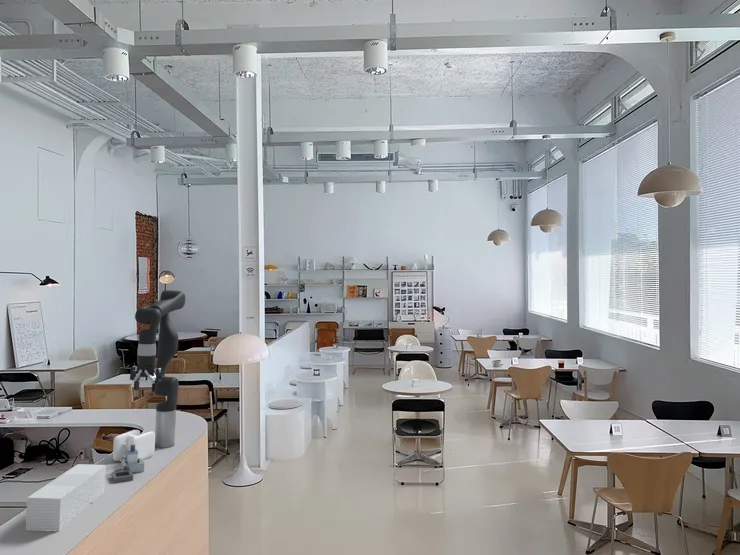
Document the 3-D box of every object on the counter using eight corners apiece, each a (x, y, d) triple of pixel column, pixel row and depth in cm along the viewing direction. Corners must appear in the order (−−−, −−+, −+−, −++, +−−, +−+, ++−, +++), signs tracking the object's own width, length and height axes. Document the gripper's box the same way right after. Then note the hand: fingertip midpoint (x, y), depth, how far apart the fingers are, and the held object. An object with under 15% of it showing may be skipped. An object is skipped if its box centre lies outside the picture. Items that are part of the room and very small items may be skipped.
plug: (126, 469, 233) (127, 444, 233) (135, 468, 235) (137, 443, 235) (127, 472, 230) (128, 446, 230) (137, 470, 232) (138, 445, 232)
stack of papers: (76, 492, 209) (77, 463, 209) (104, 493, 210) (106, 464, 210) (25, 531, 177) (27, 497, 177) (59, 532, 178) (60, 498, 178)
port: (120, 469, 234) (121, 459, 234) (140, 466, 238) (141, 456, 238) (123, 475, 227) (123, 465, 227) (144, 472, 232) (144, 462, 232)
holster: (111, 478, 224) (111, 472, 224) (130, 476, 227) (130, 469, 227) (113, 484, 218) (114, 478, 218) (132, 481, 221) (133, 475, 221)
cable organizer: (131, 466, 239) (132, 439, 239) (111, 462, 242) (112, 436, 242) (154, 456, 253) (155, 430, 253) (135, 453, 256) (136, 427, 256)
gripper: (166, 354, 243) (164, 390, 243) (138, 351, 247) (136, 387, 247) (155, 356, 236) (154, 394, 236) (127, 353, 240) (125, 391, 240)
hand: (145, 390), depth 241 cm, fingers open, 8 cm apart
